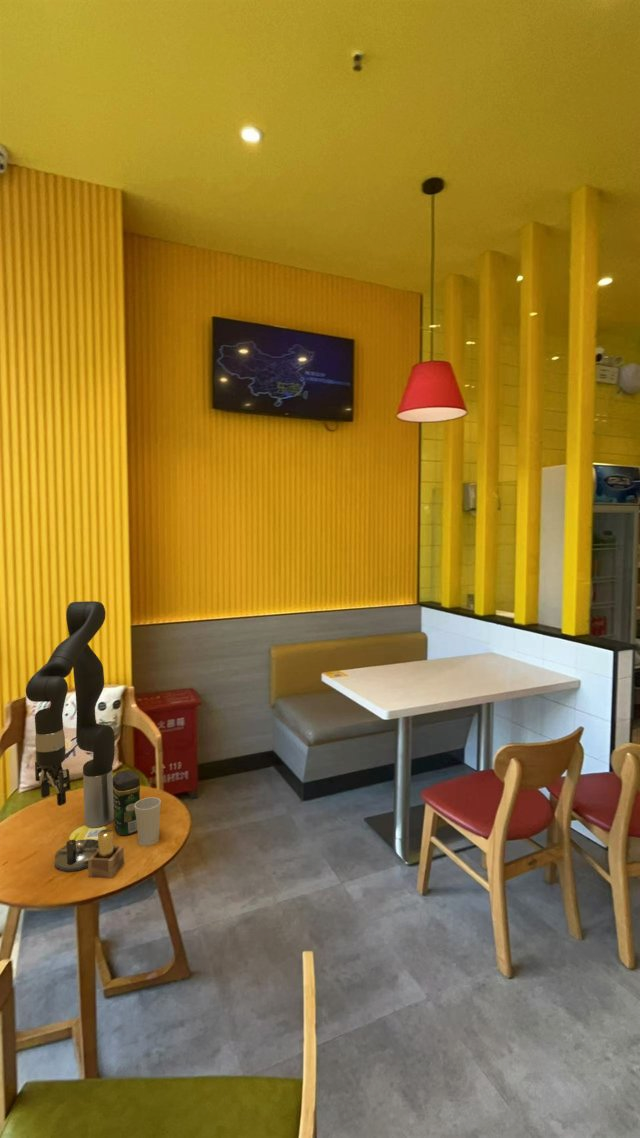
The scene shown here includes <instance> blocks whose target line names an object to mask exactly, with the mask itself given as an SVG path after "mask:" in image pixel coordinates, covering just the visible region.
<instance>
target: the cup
mask: <svg viewBox="0 0 640 1138" xmlns="http://www.w3.org/2000/svg"><path fill="white" fill-rule="evenodd" d="M161 802H162V800H161V799H160V798H158V797H154V796H153V797H151V796H150V797H145V798H142V799H141V798H140V800H139V801H137V802H136V803H135V805H134V807H135V815H136V822H137V831H136V832H137V837H138V838H137V842H138V844H139V845H141V846H143V847H148V846H152V845H155V844H156V843H158V842H159V840H160V826H161V825H160V821H161V806H162V803H161Z"/></svg>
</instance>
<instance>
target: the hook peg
mask: <svg viewBox="0 0 640 1138" xmlns="http://www.w3.org/2000/svg"><path fill="white" fill-rule="evenodd" d="M97 840H98V851H99V858H109V859H110V858H111V857H112V856H113V854H114V849H113V846H114V830H112V829H109V828H104V829H102V830H100V831H99V832H97Z"/></svg>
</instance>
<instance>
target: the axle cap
mask: <svg viewBox="0 0 640 1138" xmlns="http://www.w3.org/2000/svg"><path fill="white" fill-rule="evenodd" d="M84 848H85V844H84V839H77V840H76V852H77V851H81V850H83V849H84Z"/></svg>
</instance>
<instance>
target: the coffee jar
mask: <svg viewBox="0 0 640 1138" xmlns="http://www.w3.org/2000/svg"><path fill="white" fill-rule="evenodd" d="M140 789H141V782H140V777H139V775H138V774H137V773H136V772H135V771H133V770H130V769H125V770H121V771H118V772H116V773H115V774H114V776H113V805H114V819H113V826H114V830H115V831H116V832H117V834H118V835H120V836H127V835H128V836H129V835H131V834H134V833H136V832H138V831H137V822H136V815H135V807H134V805H135V803H136V802H137V801H139V800H141V798H140V797H141V791H140Z"/></svg>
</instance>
